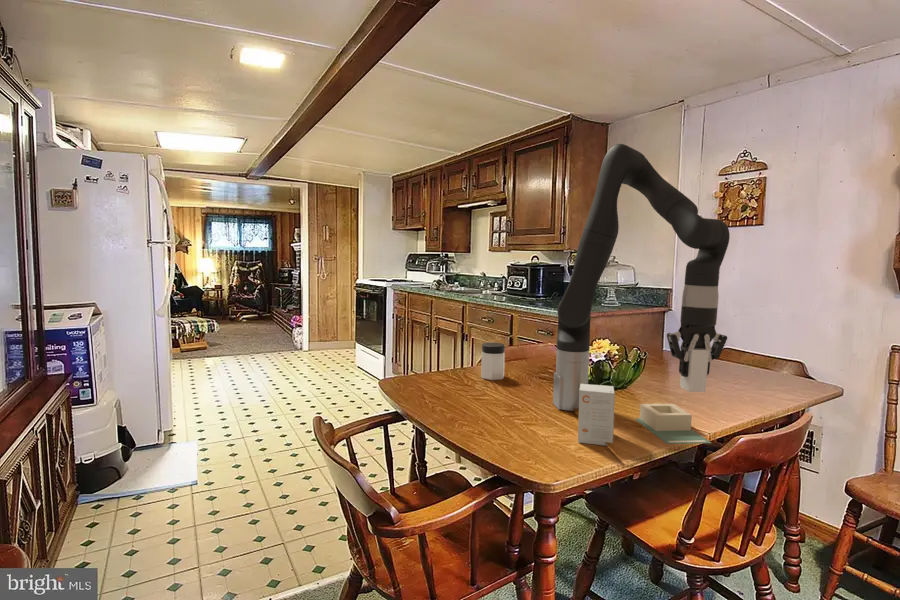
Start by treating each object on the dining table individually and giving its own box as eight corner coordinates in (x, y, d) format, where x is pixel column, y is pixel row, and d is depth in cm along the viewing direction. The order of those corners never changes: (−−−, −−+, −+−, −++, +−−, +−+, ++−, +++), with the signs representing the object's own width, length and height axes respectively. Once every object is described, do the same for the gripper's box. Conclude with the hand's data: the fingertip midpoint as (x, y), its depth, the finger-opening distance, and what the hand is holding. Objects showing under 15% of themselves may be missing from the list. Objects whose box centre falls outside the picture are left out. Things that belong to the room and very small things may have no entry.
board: (666, 447, 113) (666, 443, 112) (634, 422, 129) (634, 418, 129) (711, 447, 113) (711, 442, 113) (673, 421, 130) (673, 417, 130)
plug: (688, 391, 113) (692, 348, 112) (678, 386, 117) (682, 344, 116) (705, 391, 113) (709, 348, 112) (694, 386, 118) (698, 344, 116)
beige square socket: (656, 430, 120) (656, 415, 120) (638, 417, 130) (639, 403, 130) (690, 430, 121) (691, 414, 121) (670, 417, 131) (671, 402, 130)
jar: (509, 377, 175) (510, 344, 173) (496, 381, 169) (496, 347, 167) (489, 372, 181) (490, 341, 179) (476, 377, 174) (476, 344, 173)
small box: (612, 437, 119) (614, 385, 118) (613, 447, 113) (615, 393, 111) (578, 433, 121) (580, 382, 120) (577, 443, 115) (579, 389, 114)
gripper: (719, 303, 117) (713, 372, 119) (662, 302, 116) (656, 371, 118) (739, 307, 109) (732, 381, 111) (678, 305, 109) (672, 380, 110)
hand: (693, 375), depth 114 cm, fingers closed on plug, 4 cm apart
